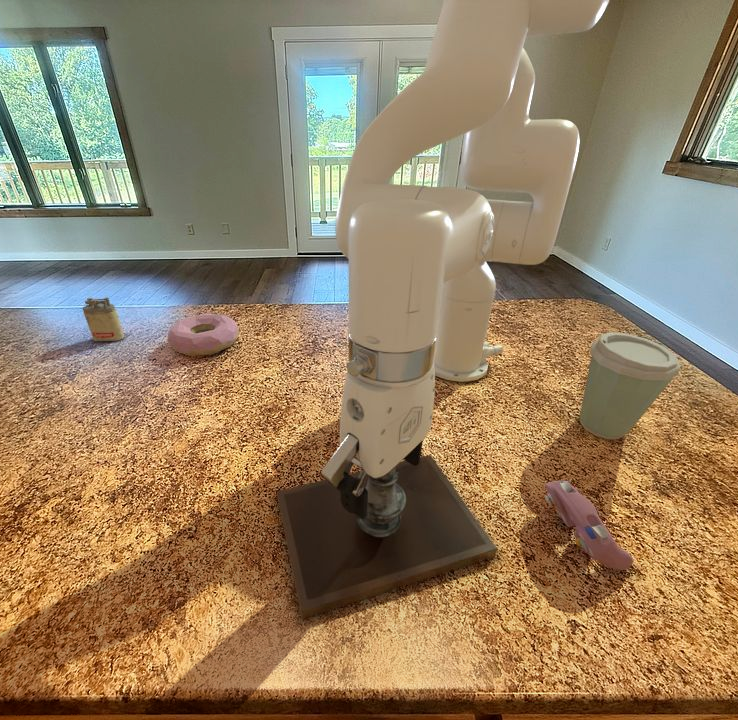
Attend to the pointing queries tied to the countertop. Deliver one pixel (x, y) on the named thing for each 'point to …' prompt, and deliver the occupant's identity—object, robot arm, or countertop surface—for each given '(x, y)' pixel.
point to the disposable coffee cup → (623, 382)
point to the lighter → (103, 320)
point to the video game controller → (586, 525)
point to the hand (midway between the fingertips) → (382, 482)
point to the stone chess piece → (383, 505)
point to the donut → (203, 334)
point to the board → (377, 539)
